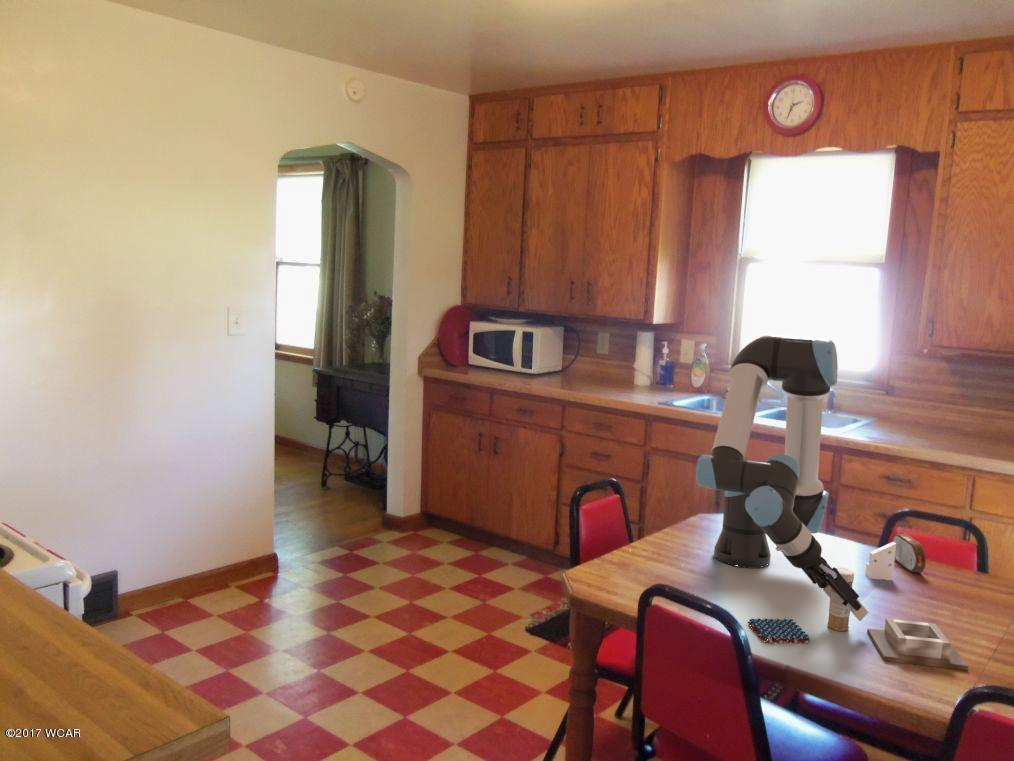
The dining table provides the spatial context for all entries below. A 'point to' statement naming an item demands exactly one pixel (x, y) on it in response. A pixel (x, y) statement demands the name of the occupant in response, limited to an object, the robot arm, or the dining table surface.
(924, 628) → the frame
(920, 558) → the tin
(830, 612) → the sprinkles bottle
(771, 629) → the woven mat
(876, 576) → the white angled block
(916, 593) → the dining table surface
